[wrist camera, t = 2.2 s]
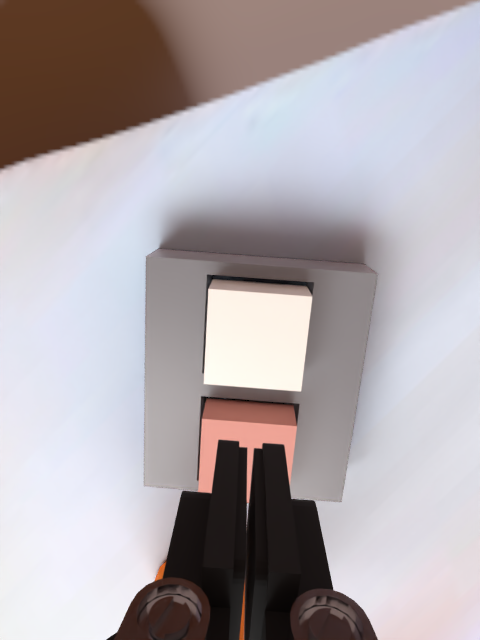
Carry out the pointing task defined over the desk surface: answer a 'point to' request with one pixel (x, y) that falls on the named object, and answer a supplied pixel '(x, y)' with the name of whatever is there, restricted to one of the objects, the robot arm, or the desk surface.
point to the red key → (244, 433)
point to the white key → (256, 334)
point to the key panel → (189, 389)
